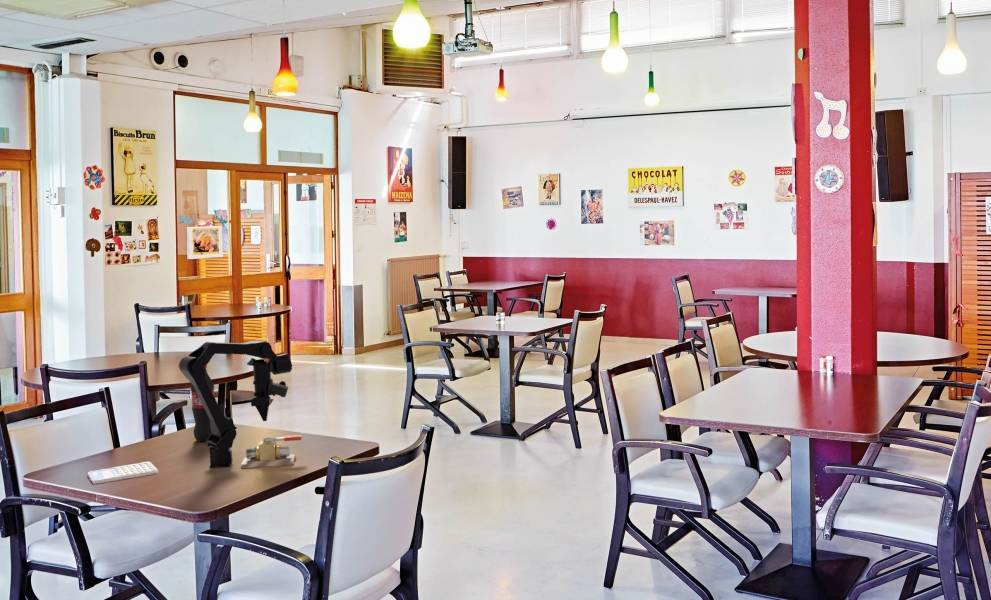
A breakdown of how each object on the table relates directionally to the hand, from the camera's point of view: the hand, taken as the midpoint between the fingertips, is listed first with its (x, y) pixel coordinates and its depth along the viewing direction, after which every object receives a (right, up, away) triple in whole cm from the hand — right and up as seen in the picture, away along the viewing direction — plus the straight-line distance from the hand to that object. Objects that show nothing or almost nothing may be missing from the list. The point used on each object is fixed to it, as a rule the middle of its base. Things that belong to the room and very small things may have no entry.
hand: (265, 421), depth 319 cm
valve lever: (+8, -5, -9) cm, 14 cm away
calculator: (-43, -16, -17) cm, 49 cm away
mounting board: (+4, -13, -9) cm, 16 cm away
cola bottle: (-29, -11, +26) cm, 40 cm away
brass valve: (+4, -12, -10) cm, 16 cm away
